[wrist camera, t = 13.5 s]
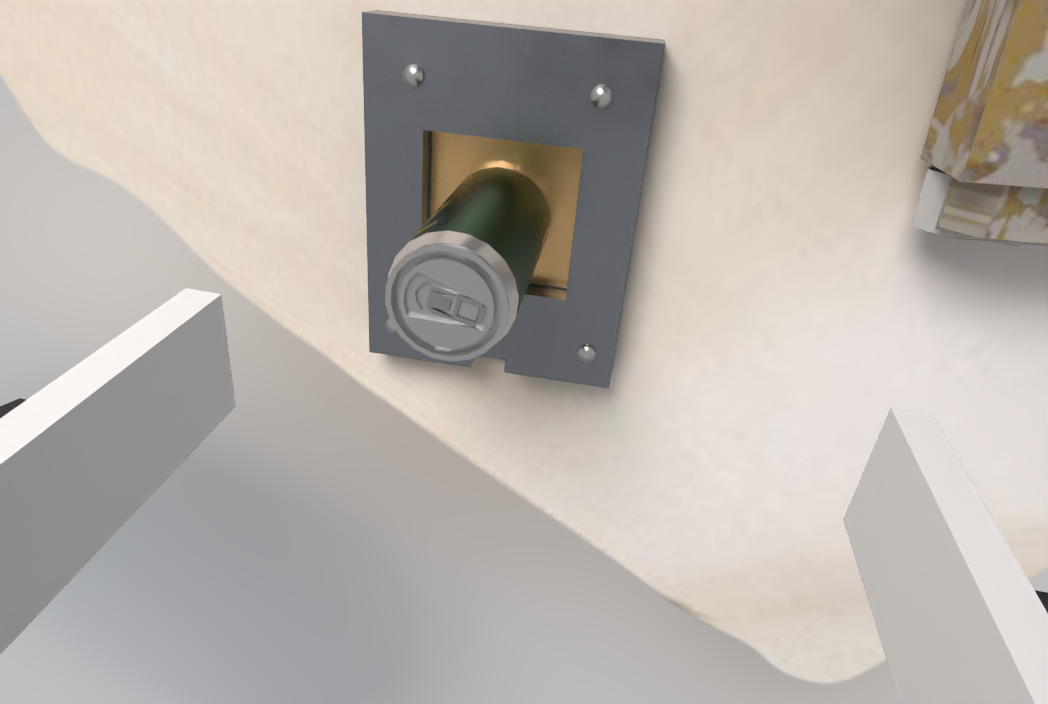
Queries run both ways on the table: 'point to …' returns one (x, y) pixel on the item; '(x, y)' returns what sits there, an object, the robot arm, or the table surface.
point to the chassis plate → (512, 166)
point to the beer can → (469, 266)
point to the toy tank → (991, 129)
